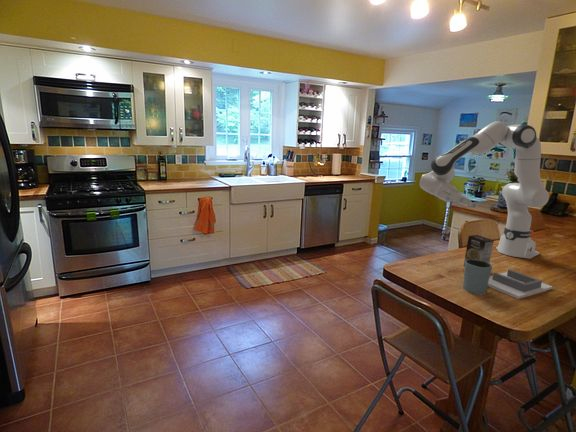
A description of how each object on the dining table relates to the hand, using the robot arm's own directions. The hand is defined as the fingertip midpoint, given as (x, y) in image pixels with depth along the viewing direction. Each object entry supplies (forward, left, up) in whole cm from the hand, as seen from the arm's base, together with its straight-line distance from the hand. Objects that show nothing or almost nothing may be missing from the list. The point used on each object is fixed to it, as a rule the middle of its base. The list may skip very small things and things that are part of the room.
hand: (473, 205), depth 168 cm
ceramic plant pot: (+24, +23, -30) cm, 45 cm away
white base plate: (+3, +27, -30) cm, 40 cm away
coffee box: (+2, +8, -30) cm, 31 cm away
